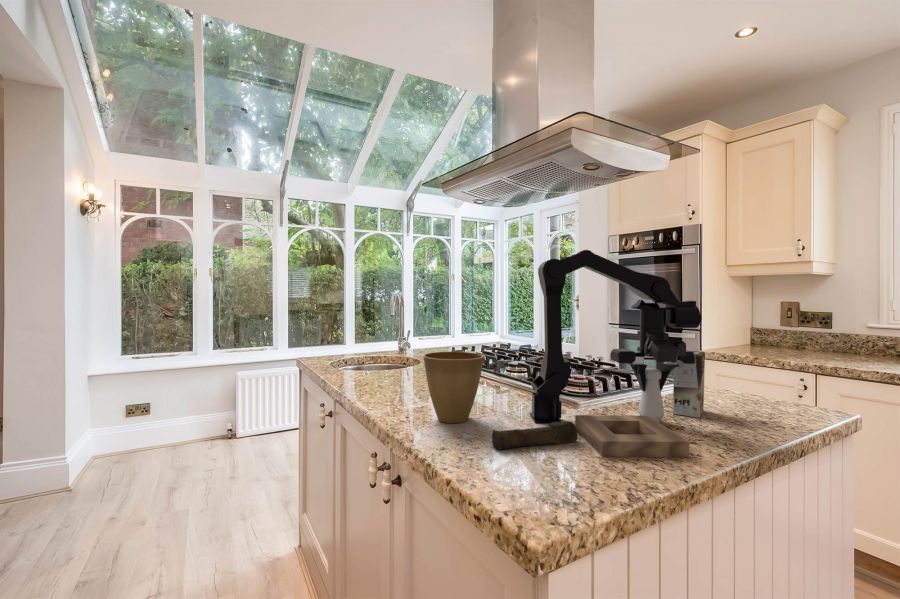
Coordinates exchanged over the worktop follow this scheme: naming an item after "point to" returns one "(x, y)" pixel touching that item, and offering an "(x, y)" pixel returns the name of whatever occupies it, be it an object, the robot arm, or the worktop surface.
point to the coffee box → (689, 387)
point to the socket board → (630, 436)
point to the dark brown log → (535, 436)
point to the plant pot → (453, 383)
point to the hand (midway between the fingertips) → (651, 390)
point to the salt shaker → (652, 396)
